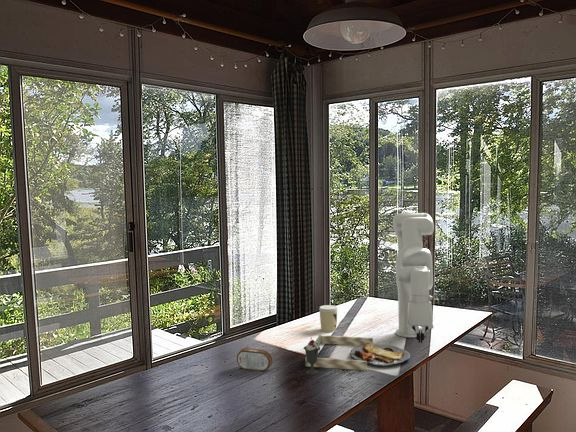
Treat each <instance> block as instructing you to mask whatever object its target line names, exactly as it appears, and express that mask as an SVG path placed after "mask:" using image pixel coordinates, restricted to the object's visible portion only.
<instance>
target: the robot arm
mask: <svg viewBox="0 0 576 432" xmlns="http://www.w3.org/2000/svg"><path fill="white" fill-rule="evenodd" d="M392 226H393V230H394V233H395V235H396V238H397V246H398V247H397V250H398V252H397V255H396V258H395V273H396V275H395V277H396V278H395V279H396V280H395V281H396V289H397V298H398V299H397V300H398V303H397V304H398V306H397V307H398V308H397V309H398V328H397V329H396V330H395V331H394V333H395V335H397V336H398V337H403V338H416V341H417V342H418V344H419V343H421V344H423V341H425V333H428V332H429V330H432V329H433V330H434V324H433V323H434V322H433V321H434V319H433V318H434V315H433V306H432V302H431V300H434V296H433V295H430V290H432V288H433V286H434V275H433V273H434V272H433V269H434V268H433V256H432V253H431V251H430V249H428V248H424V244H423V243H424V242H423V236H430V235H432V234H434V230H435V224H434V221H433V218H432V217H431V215H430V214H429V213H426V212H403V213H397V214H395V215H393V217H392Z"/></svg>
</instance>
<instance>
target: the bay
mask: <svg viewBox="0 0 576 432" xmlns="http://www.w3.org/2000/svg"><path fill="white" fill-rule="evenodd" d="M314 341H315V342H316V343H317V346H319V347H321V345H322V344H326V345H327V344H329V345H330V344H331V345H346V346H362V345H366V344H367V343H370V344H373V345H374V343H373V337H365V336H364V337H361V336H347V335H346V336H345V335H342V336H341V335H326V334H325V335H324V334H318V336H317V338H316V339H315V340H314ZM304 361H305V365H304V367H310V368H311V364H310V363H308V362H307V358H306V356H305V357H304ZM314 368H324V369H339V370H357V371H367V370H368V364H367V361H362V360H357V359H344V358H343V359H342V358H327V357H317V362H316V363H315V364H314Z"/></svg>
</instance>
